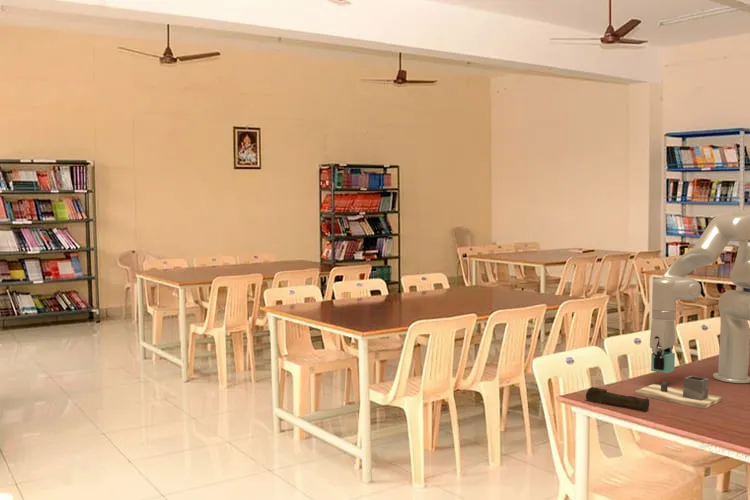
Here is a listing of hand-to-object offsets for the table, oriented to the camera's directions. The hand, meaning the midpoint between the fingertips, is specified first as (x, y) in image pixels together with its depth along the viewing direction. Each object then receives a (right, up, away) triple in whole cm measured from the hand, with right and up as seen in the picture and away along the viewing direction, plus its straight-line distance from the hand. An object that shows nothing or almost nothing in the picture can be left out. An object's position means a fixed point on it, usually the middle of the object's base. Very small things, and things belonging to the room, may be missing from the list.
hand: (662, 367), depth 255 cm
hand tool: (-25, -8, -27) cm, 38 cm away
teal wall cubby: (0, -1, 0) cm, 1 cm away
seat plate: (-1, -7, -16) cm, 18 cm away
